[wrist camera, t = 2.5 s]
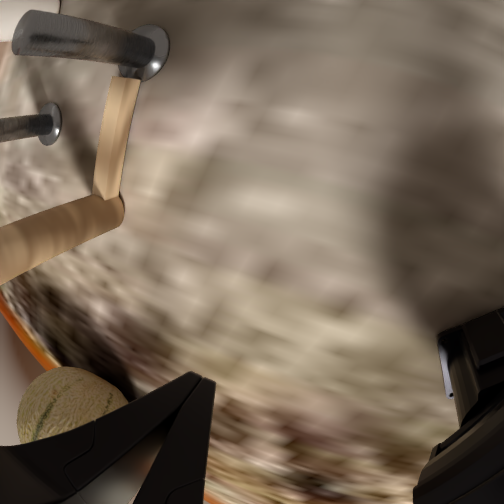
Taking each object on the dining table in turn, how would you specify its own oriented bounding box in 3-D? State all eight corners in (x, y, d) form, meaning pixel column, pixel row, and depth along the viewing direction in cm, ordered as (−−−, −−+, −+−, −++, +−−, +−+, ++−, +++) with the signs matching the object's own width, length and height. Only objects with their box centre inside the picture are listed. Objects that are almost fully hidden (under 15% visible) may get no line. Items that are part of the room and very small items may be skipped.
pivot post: (179, 56, 17) (55, 25, 8) (132, 94, 19) (9, 92, 10) (156, 14, 16) (43, -24, 7) (113, 51, 18) (-1, 38, 9)
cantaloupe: (112, 336, 28) (6, 429, 15) (186, 437, 31) (120, 534, 18) (55, 349, 35) (-20, 410, 21) (114, 429, 37) (57, 495, 24)
